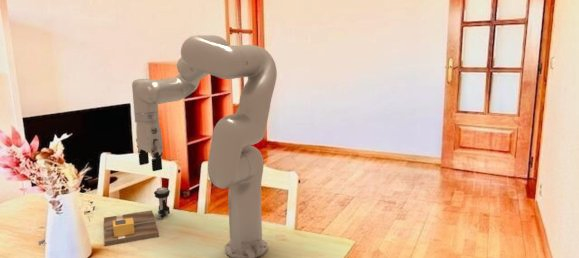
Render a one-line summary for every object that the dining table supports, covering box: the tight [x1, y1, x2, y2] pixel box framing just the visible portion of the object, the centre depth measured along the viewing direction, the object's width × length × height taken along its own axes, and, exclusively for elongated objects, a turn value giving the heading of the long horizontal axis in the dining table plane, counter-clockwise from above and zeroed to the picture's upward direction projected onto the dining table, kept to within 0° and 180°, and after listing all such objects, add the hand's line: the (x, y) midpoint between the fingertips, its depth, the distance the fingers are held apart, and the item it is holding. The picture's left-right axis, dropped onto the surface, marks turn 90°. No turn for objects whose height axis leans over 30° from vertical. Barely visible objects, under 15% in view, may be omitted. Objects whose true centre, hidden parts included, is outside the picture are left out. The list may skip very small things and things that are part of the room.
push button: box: [153, 187, 171, 220], centre depth 154 cm, size 7×5×10 cm
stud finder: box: [113, 218, 135, 237], centre depth 138 cm, size 5×6×4 cm
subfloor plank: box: [103, 209, 160, 247], centre depth 145 cm, size 20×16×2 cm
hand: (150, 167), depth 146 cm, fingers open, 9 cm apart
